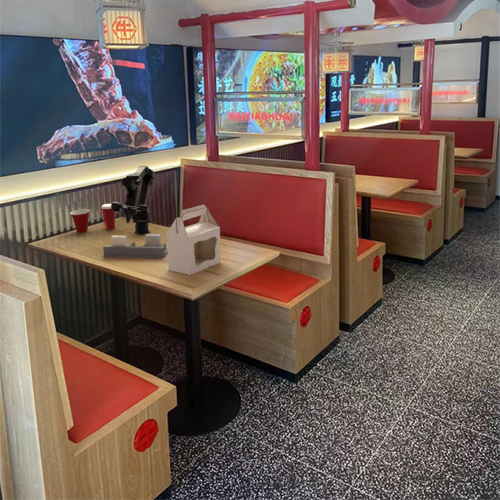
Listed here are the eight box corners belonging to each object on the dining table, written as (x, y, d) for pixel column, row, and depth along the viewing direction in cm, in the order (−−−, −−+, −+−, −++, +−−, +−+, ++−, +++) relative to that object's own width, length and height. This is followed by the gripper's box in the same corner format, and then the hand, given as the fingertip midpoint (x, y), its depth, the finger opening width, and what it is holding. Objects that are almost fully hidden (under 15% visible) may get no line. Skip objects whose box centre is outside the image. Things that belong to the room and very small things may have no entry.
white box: (148, 249, 275) (147, 233, 273) (161, 249, 275) (160, 234, 272) (146, 251, 272) (145, 235, 270) (160, 251, 272) (159, 235, 269)
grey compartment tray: (112, 248, 280) (111, 239, 278) (169, 250, 277) (169, 240, 276) (103, 256, 268) (102, 247, 266) (163, 258, 265) (163, 248, 263)
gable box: (189, 276, 241) (186, 214, 233) (167, 270, 249) (164, 210, 240) (221, 262, 258) (219, 204, 250) (200, 257, 266) (198, 201, 257)
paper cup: (119, 227, 320) (117, 204, 315) (112, 230, 313) (110, 207, 308) (107, 226, 322) (105, 203, 318) (100, 229, 315) (98, 206, 311)
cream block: (114, 250, 273) (113, 235, 271) (128, 250, 273) (127, 235, 270) (112, 252, 270) (111, 237, 268) (126, 253, 269) (125, 237, 267)
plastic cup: (73, 229, 316) (71, 209, 313) (93, 228, 318) (91, 208, 314) (70, 234, 306) (67, 213, 303) (89, 233, 307) (87, 213, 304)
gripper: (150, 204, 296) (146, 231, 290) (115, 201, 294) (111, 227, 288) (149, 195, 286) (145, 222, 280) (113, 191, 284) (108, 218, 278)
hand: (127, 222), depth 282 cm, fingers closed
